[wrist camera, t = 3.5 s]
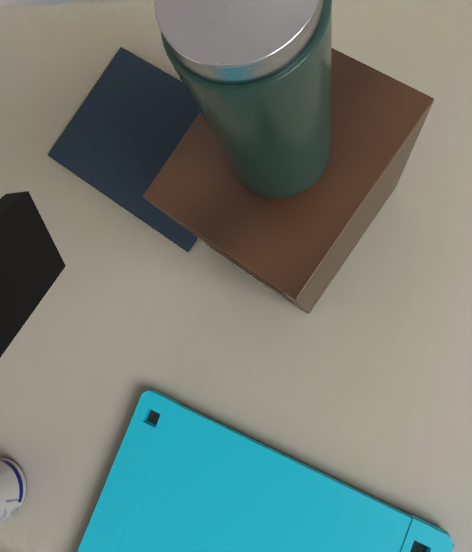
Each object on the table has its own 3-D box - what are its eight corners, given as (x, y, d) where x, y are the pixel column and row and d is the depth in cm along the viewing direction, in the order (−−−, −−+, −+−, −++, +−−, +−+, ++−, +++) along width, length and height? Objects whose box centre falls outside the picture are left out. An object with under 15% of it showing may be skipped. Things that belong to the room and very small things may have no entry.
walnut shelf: (206, 244, 40) (141, 196, 26) (287, 124, 40) (265, 14, 26) (308, 313, 37) (296, 300, 24) (396, 185, 37) (434, 98, 23)
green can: (212, 166, 26) (114, 25, 14) (267, 86, 25) (214, -124, 14) (293, 217, 24) (258, 105, 13) (351, 132, 24) (370, -59, 12)
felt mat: (49, 156, 44) (47, 154, 44) (122, 49, 44) (120, 46, 44) (188, 252, 40) (186, 251, 40) (269, 133, 40) (268, 131, 40)
